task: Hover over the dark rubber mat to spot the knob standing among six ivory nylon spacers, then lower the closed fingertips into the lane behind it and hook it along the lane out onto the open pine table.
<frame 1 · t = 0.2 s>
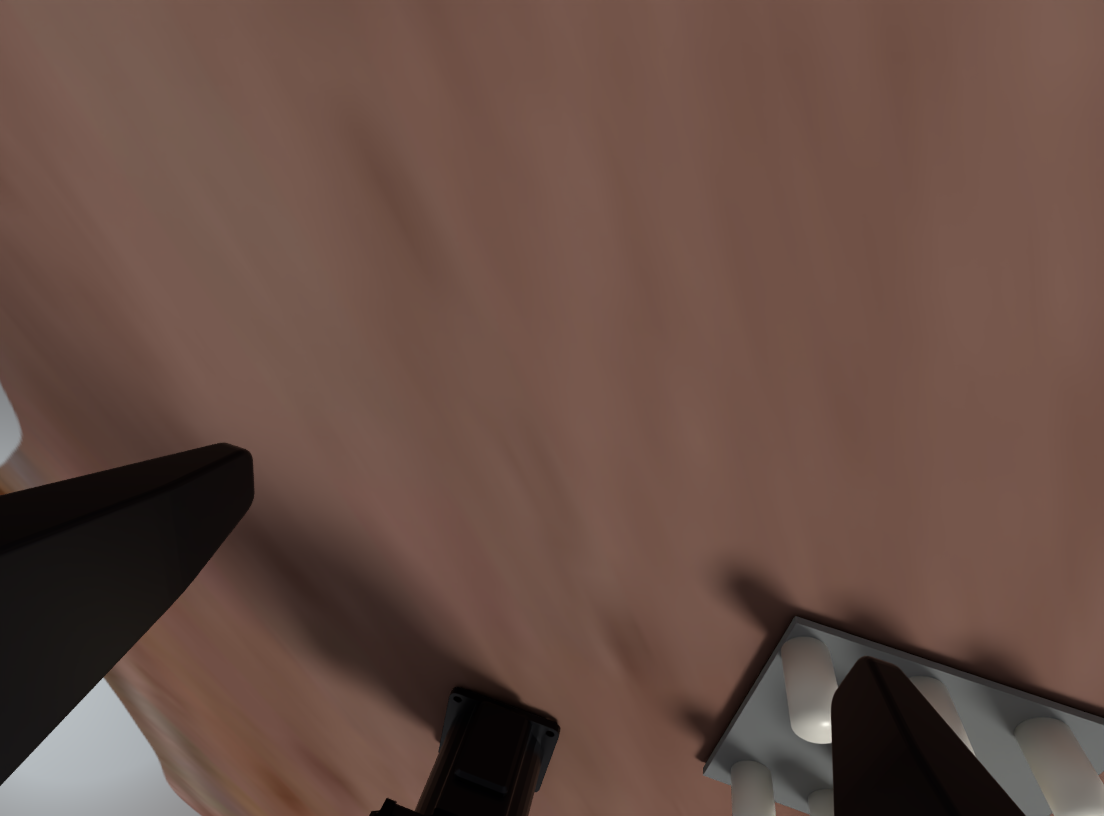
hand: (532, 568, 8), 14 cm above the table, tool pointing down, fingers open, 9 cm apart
spacers: (881, 789, 25), on the mat
mat: (890, 751, 27), on the table
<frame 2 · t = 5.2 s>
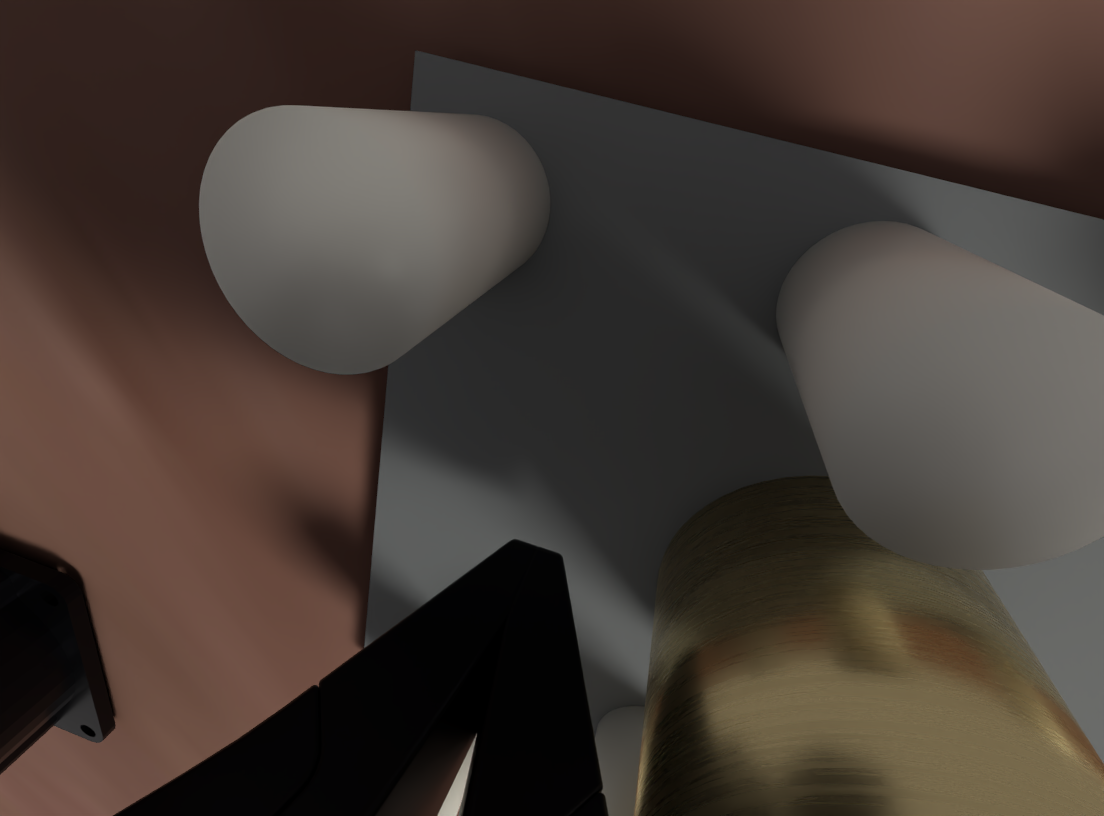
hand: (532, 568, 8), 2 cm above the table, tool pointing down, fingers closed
knob: (838, 741, 7), on the mat, touching gripper
spacers: (735, 667, 8), on the mat
mat: (790, 579, 9), on the table
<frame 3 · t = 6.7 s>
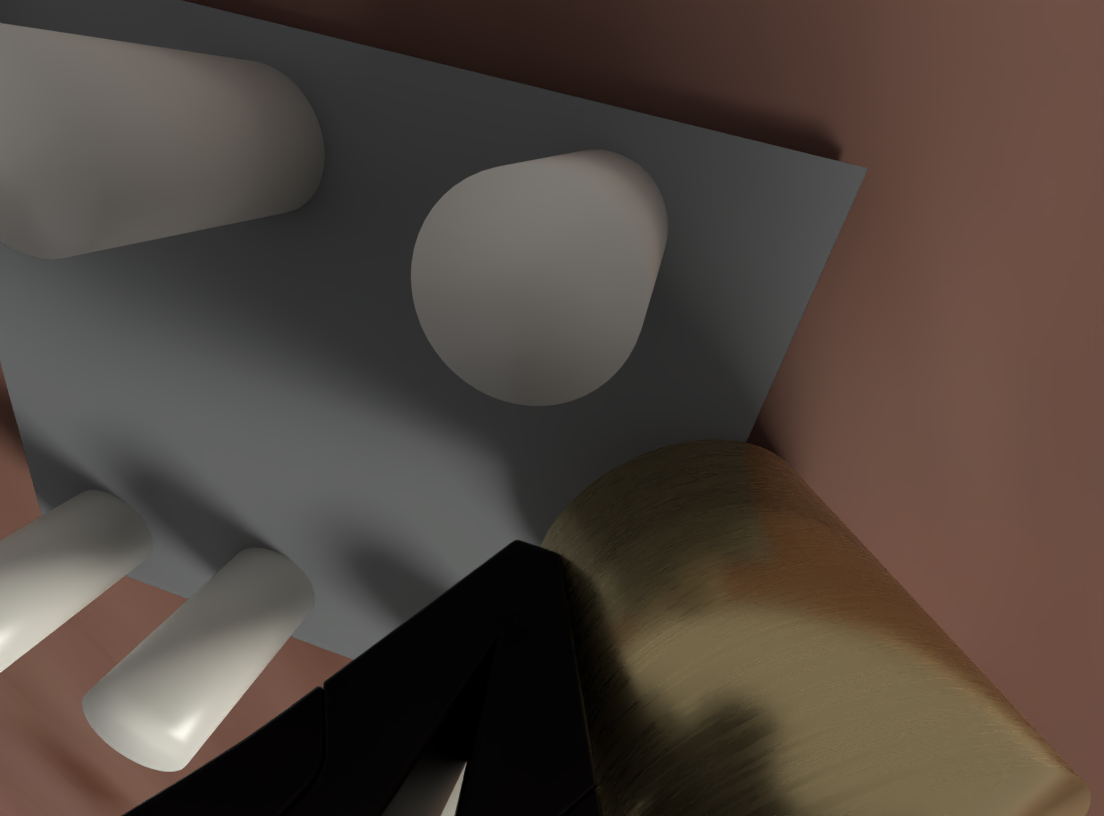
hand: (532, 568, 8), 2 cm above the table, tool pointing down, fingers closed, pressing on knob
knob: (745, 692, 7), on the table, tilted 26°, touching gripper
spacers: (194, 455, 9), on the mat
mat: (331, 414, 11), on the table
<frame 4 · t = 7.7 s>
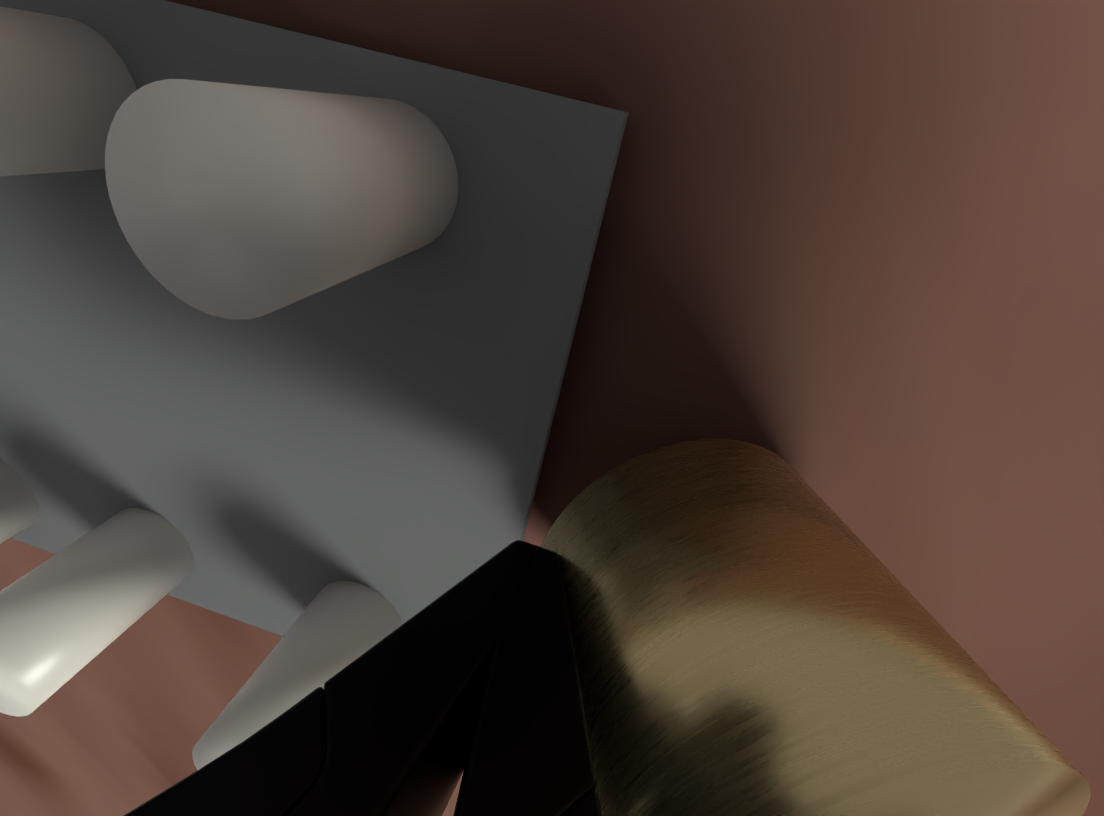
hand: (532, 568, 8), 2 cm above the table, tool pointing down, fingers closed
knob: (746, 691, 7), on the table, tilted 26°, touching gripper
spacers: (30, 404, 9), on the mat
mat: (189, 371, 11), on the table
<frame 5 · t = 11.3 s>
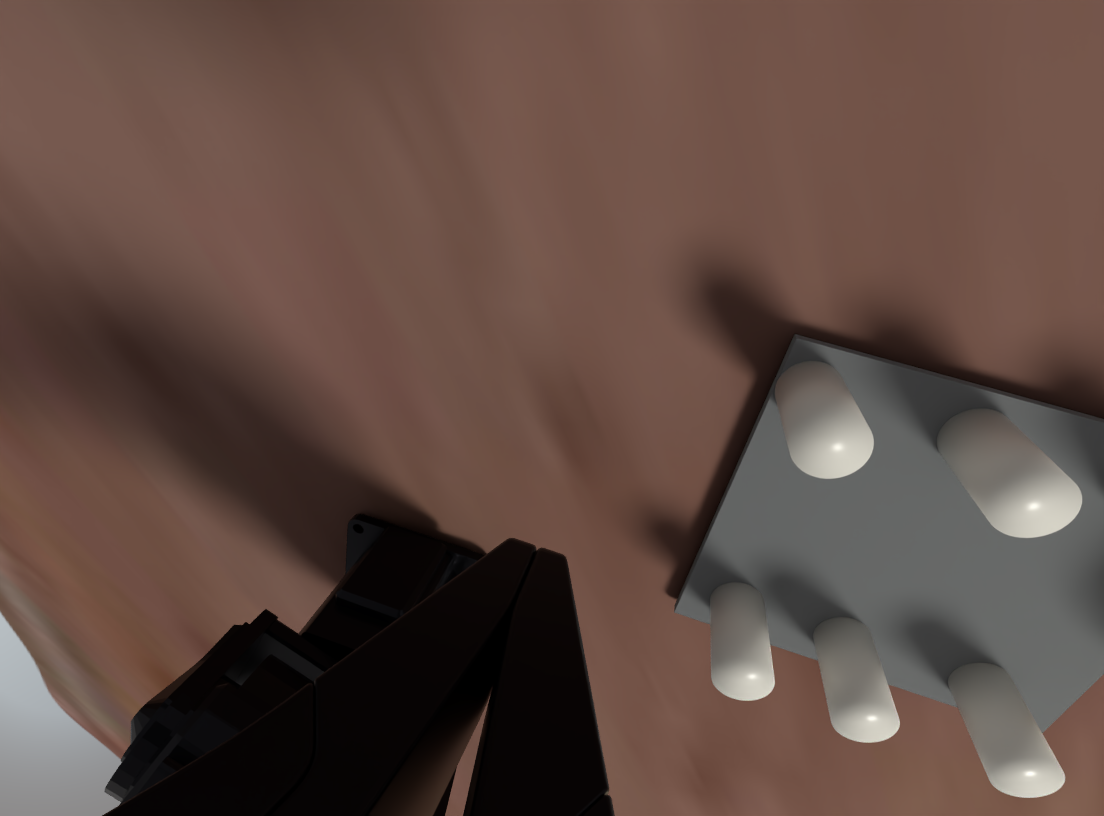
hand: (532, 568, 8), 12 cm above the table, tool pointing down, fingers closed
spacers: (917, 584, 18), on the mat
mat: (927, 550, 20), on the table
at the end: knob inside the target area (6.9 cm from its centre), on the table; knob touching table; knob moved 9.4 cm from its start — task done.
